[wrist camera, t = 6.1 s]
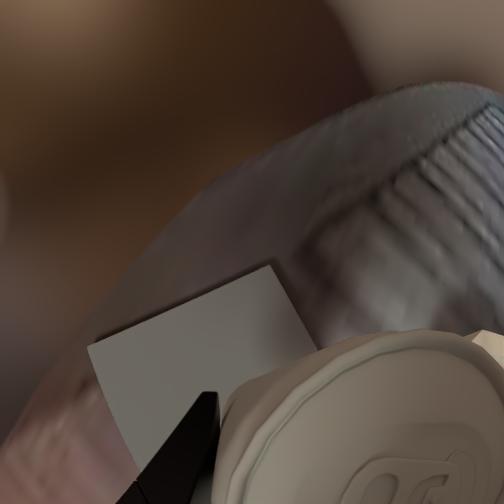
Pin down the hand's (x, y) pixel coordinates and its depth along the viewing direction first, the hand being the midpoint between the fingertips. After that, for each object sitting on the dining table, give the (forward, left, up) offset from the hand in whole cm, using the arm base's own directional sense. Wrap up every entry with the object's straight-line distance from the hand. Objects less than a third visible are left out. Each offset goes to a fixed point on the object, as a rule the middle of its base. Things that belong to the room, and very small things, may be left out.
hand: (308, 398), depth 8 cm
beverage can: (-1, +1, -7) cm, 7 cm away
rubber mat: (0, +3, -12) cm, 13 cm away
